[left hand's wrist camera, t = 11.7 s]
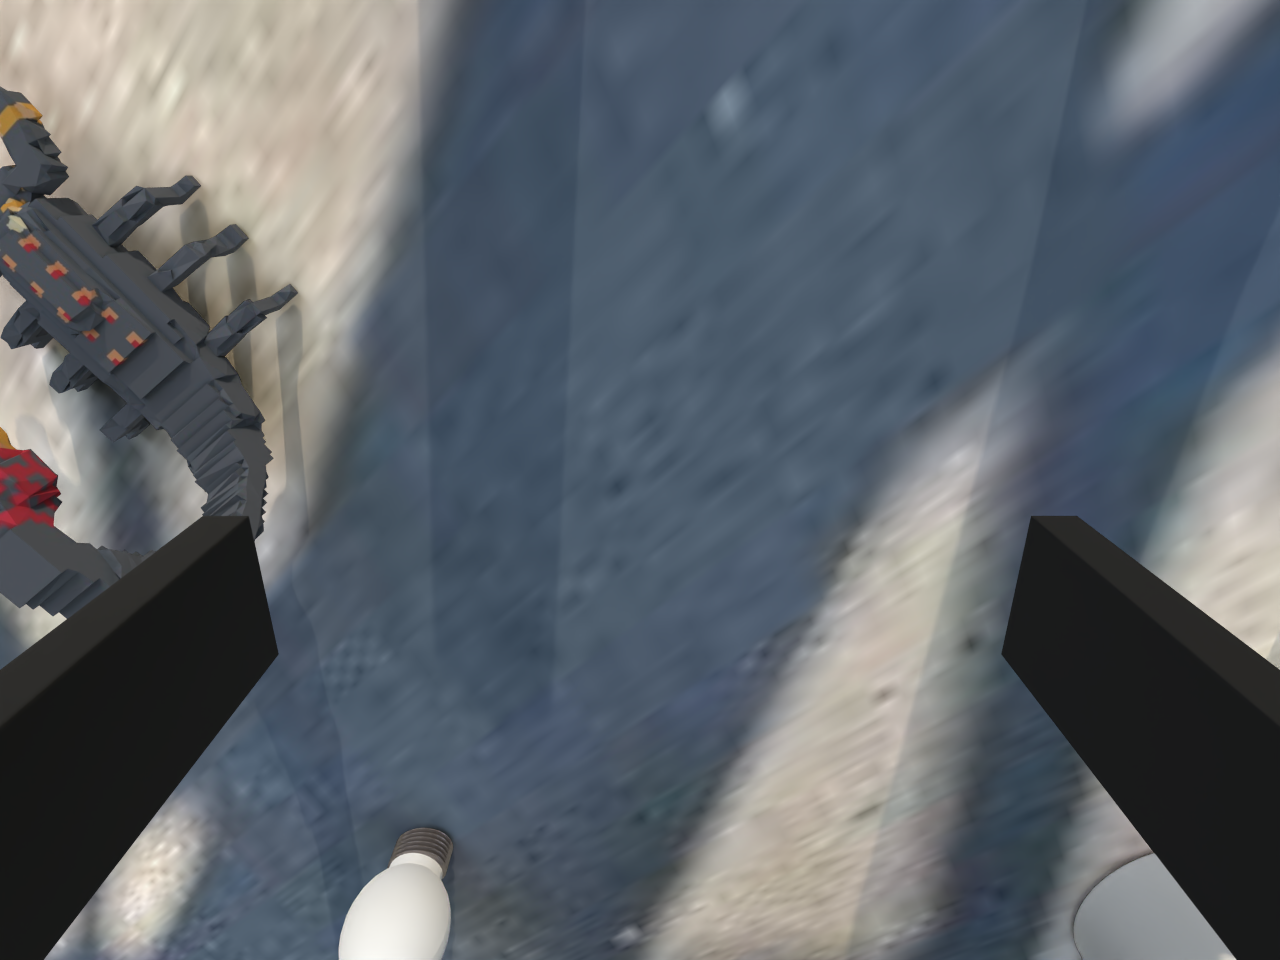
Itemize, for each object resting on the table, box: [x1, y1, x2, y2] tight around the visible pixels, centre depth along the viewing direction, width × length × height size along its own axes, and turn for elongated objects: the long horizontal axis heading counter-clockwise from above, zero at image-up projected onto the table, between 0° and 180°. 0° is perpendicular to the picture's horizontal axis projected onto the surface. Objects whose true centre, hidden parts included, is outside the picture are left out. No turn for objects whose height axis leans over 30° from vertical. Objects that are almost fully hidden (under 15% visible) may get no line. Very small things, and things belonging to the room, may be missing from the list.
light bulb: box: [339, 828, 453, 960], centre depth 49 cm, size 7×7×11 cm
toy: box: [0, 87, 298, 619], centre depth 31 cm, size 13×27×18 cm, turn 37°
